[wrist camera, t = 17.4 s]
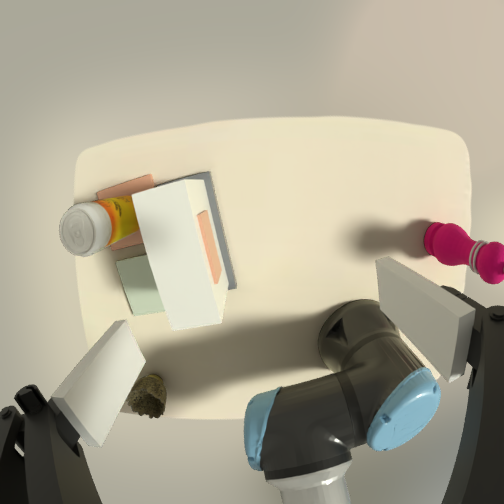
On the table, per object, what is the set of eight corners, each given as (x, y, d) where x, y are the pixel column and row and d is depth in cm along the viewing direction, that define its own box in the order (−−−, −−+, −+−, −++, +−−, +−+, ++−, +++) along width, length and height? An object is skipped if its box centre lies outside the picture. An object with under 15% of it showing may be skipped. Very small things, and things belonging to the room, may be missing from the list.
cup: (174, 370, 49) (164, 398, 41) (172, 395, 50) (163, 422, 43) (138, 361, 48) (124, 386, 40) (138, 386, 50) (127, 412, 42)
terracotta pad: (166, 236, 42) (165, 237, 41) (113, 249, 42) (111, 250, 42) (151, 174, 40) (150, 174, 39) (99, 192, 40) (96, 192, 39)
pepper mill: (415, 249, 43) (492, 289, 24) (430, 212, 42) (512, 236, 22) (440, 263, 44) (511, 303, 25) (454, 229, 42) (529, 256, 23)
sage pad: (187, 305, 45) (186, 307, 44) (135, 314, 45) (134, 316, 45) (170, 248, 43) (168, 249, 42) (117, 261, 43) (115, 262, 42)
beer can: (139, 190, 39) (89, 196, 25) (150, 227, 41) (105, 252, 26) (108, 201, 40) (51, 214, 25) (118, 237, 41) (66, 264, 27)
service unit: (236, 284, 44) (232, 329, 31) (189, 293, 45) (167, 338, 31) (210, 171, 40) (191, 167, 26) (160, 185, 40) (121, 188, 27)
